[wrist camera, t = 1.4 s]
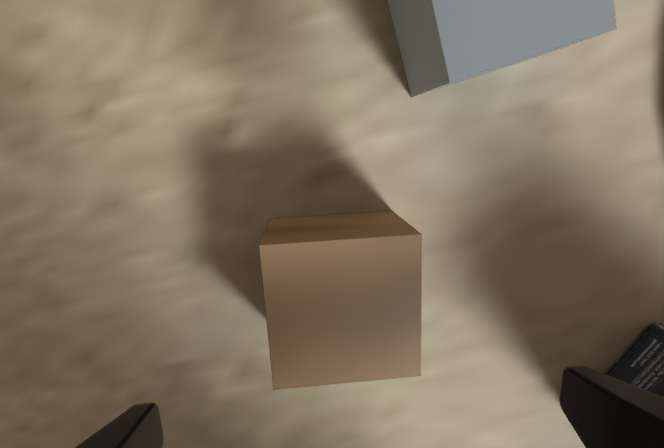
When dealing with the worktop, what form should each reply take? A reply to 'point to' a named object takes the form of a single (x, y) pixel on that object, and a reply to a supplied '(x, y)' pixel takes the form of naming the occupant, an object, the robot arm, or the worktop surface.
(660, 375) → the small box
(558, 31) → the slate block
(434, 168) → the worktop surface
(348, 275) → the walnut block
